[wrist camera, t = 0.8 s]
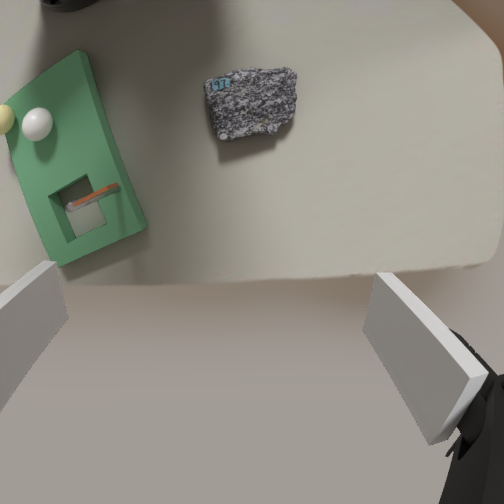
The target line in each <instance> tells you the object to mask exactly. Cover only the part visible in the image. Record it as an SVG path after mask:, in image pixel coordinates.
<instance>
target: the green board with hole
mask: <svg viewBox="0 0 504 504" xmlns="http://www.w3.org/2000/svg"><path fill="white" fill-rule="evenodd" d="M3 105H8V106H10V107H11V108H12V109H13V111H14V114H15V120H14V124H13V126H12V128H11V129H10V130H9V131H8V132H7V133H6V134H5V136H6V140H7V143H8V147H9V151H10V154H11V158H12V161H13V164H14V168H15V171H16V174H17V177H18V180H19V183H20V186H21V189H22V192H23V195H24V197H25V200H26V203H27V205H28V208H29V211H30V213H31V216H32V218H33V221H34V223H35V226H36V228H37V231H38V233H39V235H40V238H41V240H42V242H43V244H44V247H45V249H46V251H47V253H48V255H49V258H50V260H51V261H56V262H57V267H58V268H59V267H61V266H63V265H65V264H67V263H69V262H72V261H74V260H76V259H78V258H80V257H82V256H85V255H87V254H89V253H91V252H94V251H96V250H98V249H100V248H103V247H105V246H107V245H109V244H112V243H114V242H116V241H119V240H121V239H123V238H126V237H128V236H130V235H133V234H135V233H137V232H140V231H142V230H143V229H144V228H145V227H147V226H148V224H147V222H146V220H145V217H144V215H143V212H142V210H141V208H140V205H139V203H138V200H137V198H136V195H135V193H134V190H133V188H132V185H131V183H130V180H129V178H128V175H127V173H126V170H125V167H124V165H123V162H122V160H121V157H120V154H119V151H118V149H117V146H116V143H115V140H114V138H113V135H112V132H111V129H110V126H109V123H108V120H107V117H106V115H105V112H104V109H103V105H102V102H101V99H100V96H99V93H98V90H97V87H96V83H95V80H94V77H93V73H92V70H91V67H90V63H89V60H88V56H87V54H86V53H84V52H82V51H81V50H79V49H78V50H76V51H74V52H73V53H71V54H70V55H68V56H67V57H65V58H64V59H62V60H60V61H59V62H57V63H56V64H55V65H53V66H52V67H50V68H49V69H47V70H46V71H45V72H43V73H42V74H40V75H39V76H38V77H36V78H35V79H34V80H32V81H31V82H30V83H28V84H27V85H26V86H25V87H23V88H22V89H21V90H20V91H18V92H17V93H16V94H15V95H13V96H12V97H11V98H10V99H9V100H8V101H6V102H5V103H4V104H3ZM34 108H45V109H47V110H48V111H49V112H50V113H51V115H52V118H53V125H52V129H51V131H50V133H49V134H48V135H47V136H46V137H45V138H44V139H42V140H39V141H31V140H29V139H27V138H26V137H25V136H24V134H23V132H22V122H23V119H24V117H25V115H26V114H27V113H28V112H29V111H30V110H32V109H34ZM86 176H88V178H89V180H90V183H91V186H92V188H93V191H94V192H95V191H97V190H99V189H101V188H103V187H105V186H108V185H111V184H114V183H117V182H118V184H119V186H120V187H121V190H120V191H119V192H117V193H115V194H112V195H110V196H107V197H105V198H102V199H100V200H98V203H99V206H100V208H101V210H102V213H103V215H104V218H105V220H106V222H107V224H104V225H102V226H100V227H98V228H96V229H94V230H92V231H90V232H88V233H86V234H84V235H81V236H79V237H77V238H76V237H75V234H74V232H73V230H72V228H71V225H70V223H69V220H68V218H67V216H66V213H65V211H64V208H63V206H62V203H61V201H60V198H59V196H58V192H60V191H62V190H64V189H65V188H67V187H69V186H70V185H72V184H74V183H76V182H77V181H79V180H81V179H83V178H85V177H86Z"/></svg>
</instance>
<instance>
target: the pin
mask: <svg viewBox="0 0 504 504" xmlns="http://www.w3.org/2000/svg"><path fill="white" fill-rule="evenodd" d="M120 190H121V187H120V186H119V184H118V182H117V183H114V184H111V185H108V186H105V187H103V188H101V189H99V190H97V191H95V192H93V193H92V194H90V195H87V196H84V197H82V198H79V199H76V200H74V201H71V202H68V203H67V205H66V209H67V211H69V212H72V211H74V210H77V209H79V208H81V207H84V206H86V205H88V204H91V203H93V202H95V201H98V200H100V199H102V198H105V197H107V196H110V195H112V194H115V193H117V192H119V191H120Z"/></svg>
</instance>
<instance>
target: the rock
mask: <svg viewBox="0 0 504 504" xmlns="http://www.w3.org/2000/svg"><path fill="white" fill-rule="evenodd" d="M296 79H297V73H296V72H294V71H293V70H291V69H290V68H287V67H283V68H278V69H268V70H262V69H256V68H248V69H243V70H242V69H240V70H235V71H232V72H230V73H227V74H224V75H223V76H220V77H216V78H212V79H208V80H205V82H204V85H203V88H204V91H205V93H206V95H207V106H208V107H209V109H210V112H211V114H210V120H211V123H212V127H213V129H214V132H215V134H216V136H217V137H218V140H219V141H228V142H229V141H232V140H235V139H238V138H242V137H246V136H249V135H255V134H268V135H274V134H275V133H277V130H278V129H279V128H280V127H281V126H282V125H283V124H286V123H287V122H288V121H289V120H290V119H291V118H292V116H293V115H294V114H295V108H296V105H295V102H296V100H297V95H296V92H295V85H296Z"/></svg>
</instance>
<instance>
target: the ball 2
mask: <svg viewBox="0 0 504 504" xmlns="http://www.w3.org/2000/svg"><path fill="white" fill-rule="evenodd" d="M52 125H53V118H52V115H51V113H50V112H49V111H48V110H47V109H45V108H34V109H32V110H30V111H29V112H28V113H27V114H26V115H25V117H24V119H23V122H22V132H23V134H24V136H25V137H26V138H27V139H29V140H31V141H39V140H42V139H44V138H45V137H46V136H47V135H48V134H49V133H50V131H51V129H52Z"/></svg>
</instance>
